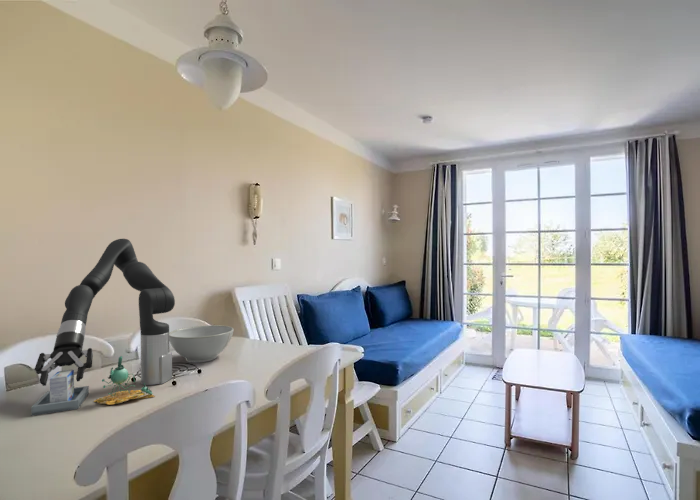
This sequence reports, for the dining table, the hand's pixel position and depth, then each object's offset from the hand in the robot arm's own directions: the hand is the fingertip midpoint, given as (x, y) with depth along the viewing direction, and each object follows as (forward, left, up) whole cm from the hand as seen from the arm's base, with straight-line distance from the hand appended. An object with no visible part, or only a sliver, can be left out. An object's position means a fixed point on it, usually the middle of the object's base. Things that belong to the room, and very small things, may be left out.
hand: (60, 382), depth 115 cm
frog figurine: (-16, -5, -7) cm, 19 cm away
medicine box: (0, 0, -6) cm, 6 cm away
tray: (+1, -1, -7) cm, 7 cm away
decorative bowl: (-17, -53, -7) cm, 56 cm away
